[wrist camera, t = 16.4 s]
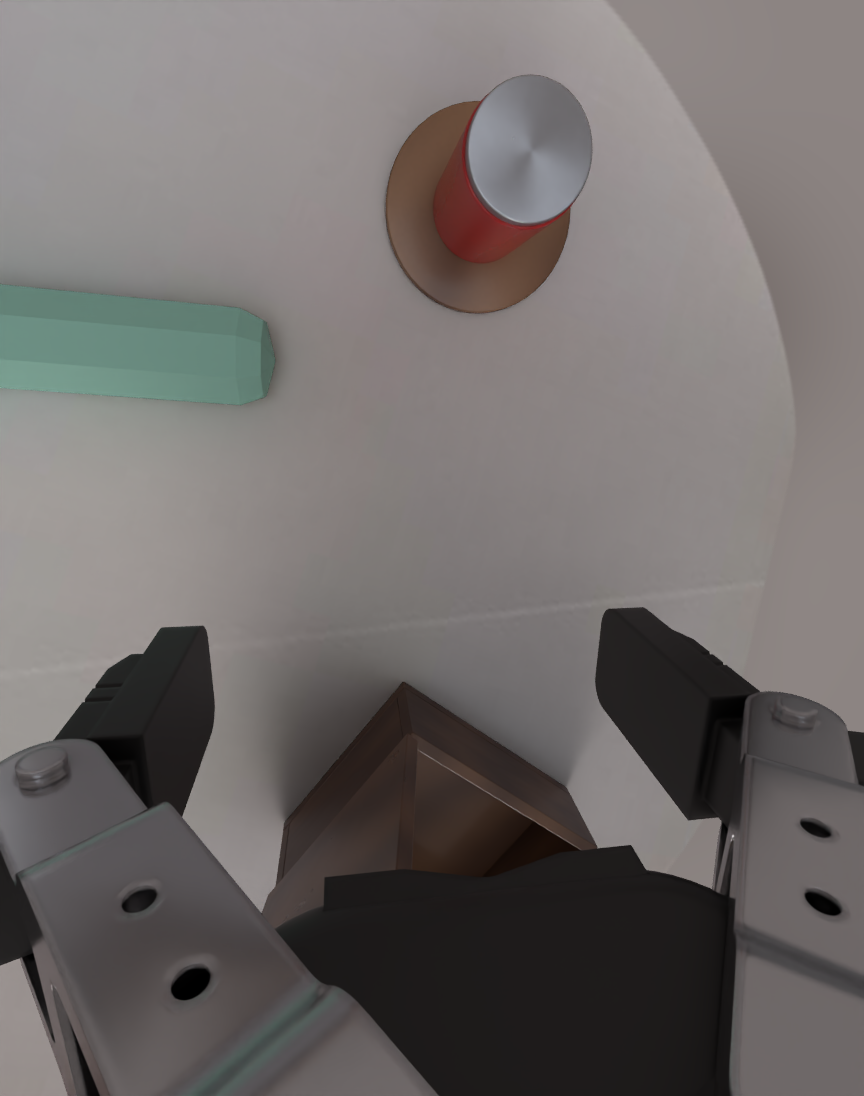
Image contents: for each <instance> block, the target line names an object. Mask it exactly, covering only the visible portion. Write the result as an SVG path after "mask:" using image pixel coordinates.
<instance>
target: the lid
mask: <svg viewBox="0 0 864 1096" xmlns="http://www.w3.org/2000/svg"><path fill="white" fill-rule="evenodd" d="M417 750H418V741H417V740H416V739H415V738H413V737H412V736H411V735H409V734H406V735H405V737H404V738H403V739H402V740H401V741H400V742H399V744H398V745H397V746H396V747H395V748H394V749H393V751H392V752H391V753H390V754H389V755H388V756H387V758H386V759H385V760H384V761H383V762H382V763H381V765H380V766H379V767H378V768H377V769H376V770H375V772H374V773H373V774H372V775H371V776H370V777H369V778H368V780H367V781H366V782H365V783H364V784H363V785H362V787H361V788H360V789H359V790H358V791H357V792H356V794H355V795H354V796H353V797H352V798H351V799H350V801H349V802H348V803H347V804H346V805H345V806H344V808H343V809H342V810H341V811H340V812H339V813H338V815H337V816H336V817H335V818H334V819H333V820H332V822H331V823H330V824H329V825H328V826H327V827H326V828H325V830H324V831H323V832H322V833H321V834H320V835H319V837H318V838H317V839H316V840H315V841H314V842H313V844H312V845H311V846H310V847H309V848H308V849H307V851H306V852H305V853H304V854H303V855H302V856H301V858H300V859H299V860H298V861H297V862H296V863H295V865H294V866H293V867H292V868H291V869H290V870H289V872H288V873H287V874H286V875H285V876H284V877H283V879H282V880H281V881H280V882H279V883H278V884H277V885H276V887H275V888H274V889H273V890H272V891H271V892H270V894H269V895H268V897H267V900H266V903H265V906H264V908H263V911H262V915H263V916H264V917H265V918H266V920H267V921H268V922H269V923H270V924H271V926H272V927H273V928H274V929H275V928H277V927H278V926H280V925H282V924H283V923H285V922H287V921H288V920H290V919H292V918H294V917H296V916H298V915H300V914H302V913H305V912H307V911H309V910H311V909H314V908H317V907H319V906H322V905H324V878H325V877H332V876H341V875H351V874H360V873H370V872H379V871H389V870H398V869H410V870H412V857H413V836H414V815H415V793H416V772H417Z"/></svg>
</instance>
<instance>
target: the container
mask: <svg viewBox="0 0 864 1096" xmlns="http://www.w3.org/2000/svg"><path fill="white" fill-rule="evenodd" d="M274 365H275V356H274V352H273V347H272V343H271V339H270V334H269V330H268V326H267V322H265V321H264V320H262V319H260V318H258V317H256V316H254V315H252V314H250V313H249V312H247V311H245V310H243V309H241V308H236V307H225V306H215V305H205V304H195V303H185V302H175V301H165V300H155V299H144V298H134V297H124V296H114V295H104V294H94V293H84V292H74V291H63V290H53V289H43V288H33V287H23V286H13V285H3V284H0V388H9V389H23V390H37V391H51V392H64V393H78V394H92V395H106V396H120V397H134V398H148V399H162V400H176V401H190V402H204V403H218V404H232V405H243V404H246V403H249V402H252V401H254V400H257V399H260V398H263V397H266V396H267V393H268V389H269V385H270V381H271V377H272V373H273V369H274Z"/></svg>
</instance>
